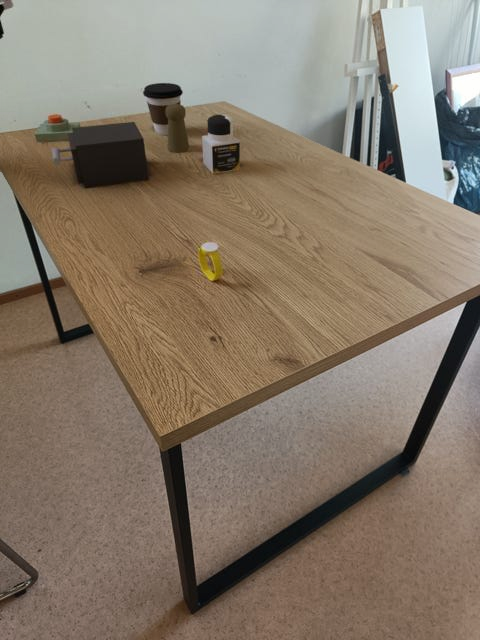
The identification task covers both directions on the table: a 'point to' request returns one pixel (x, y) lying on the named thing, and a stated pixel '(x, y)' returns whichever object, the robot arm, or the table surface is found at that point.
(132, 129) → the black drawer box
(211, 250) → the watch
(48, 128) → the control block
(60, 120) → the button
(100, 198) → the table surface
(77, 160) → the drawer
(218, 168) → the medicine bottle
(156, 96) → the coffee cup
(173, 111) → the olive brown pawn
